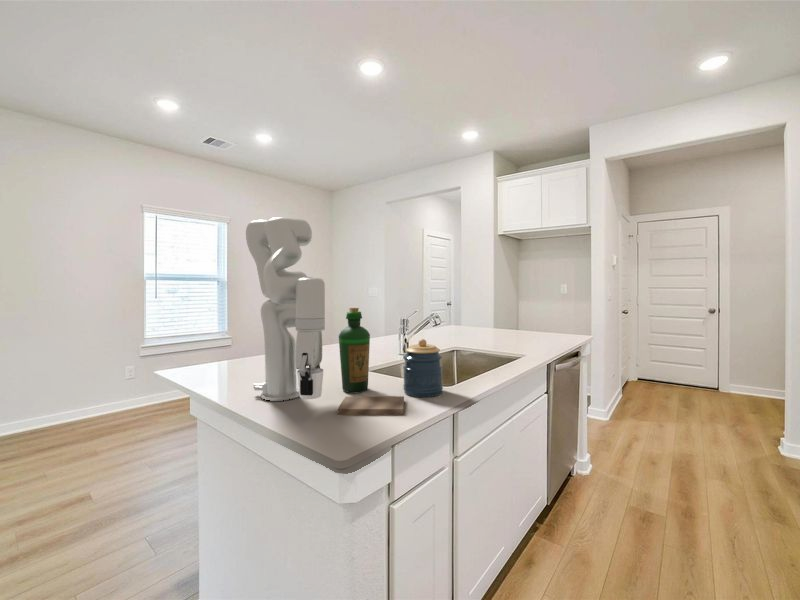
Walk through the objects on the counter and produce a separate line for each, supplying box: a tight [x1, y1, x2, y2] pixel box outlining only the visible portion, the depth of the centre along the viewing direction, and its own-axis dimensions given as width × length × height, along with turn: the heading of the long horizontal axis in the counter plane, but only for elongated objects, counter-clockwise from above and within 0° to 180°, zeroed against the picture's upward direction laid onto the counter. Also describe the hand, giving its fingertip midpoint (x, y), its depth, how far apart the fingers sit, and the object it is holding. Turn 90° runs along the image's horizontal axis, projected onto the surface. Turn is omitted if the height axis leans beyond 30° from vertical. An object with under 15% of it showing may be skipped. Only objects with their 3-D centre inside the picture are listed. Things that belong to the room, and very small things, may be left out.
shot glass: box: [296, 367, 324, 400], centre depth 99 cm, size 7×7×7 cm
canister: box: [402, 338, 444, 398], centre depth 122 cm, size 13×13×18 cm
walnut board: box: [336, 395, 405, 416], centre depth 107 cm, size 18×12×2 cm, turn 88°
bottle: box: [338, 307, 371, 394], centre depth 126 cm, size 11×11×28 cm
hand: (310, 390), depth 100 cm, fingers closed on shot glass, 6 cm apart
